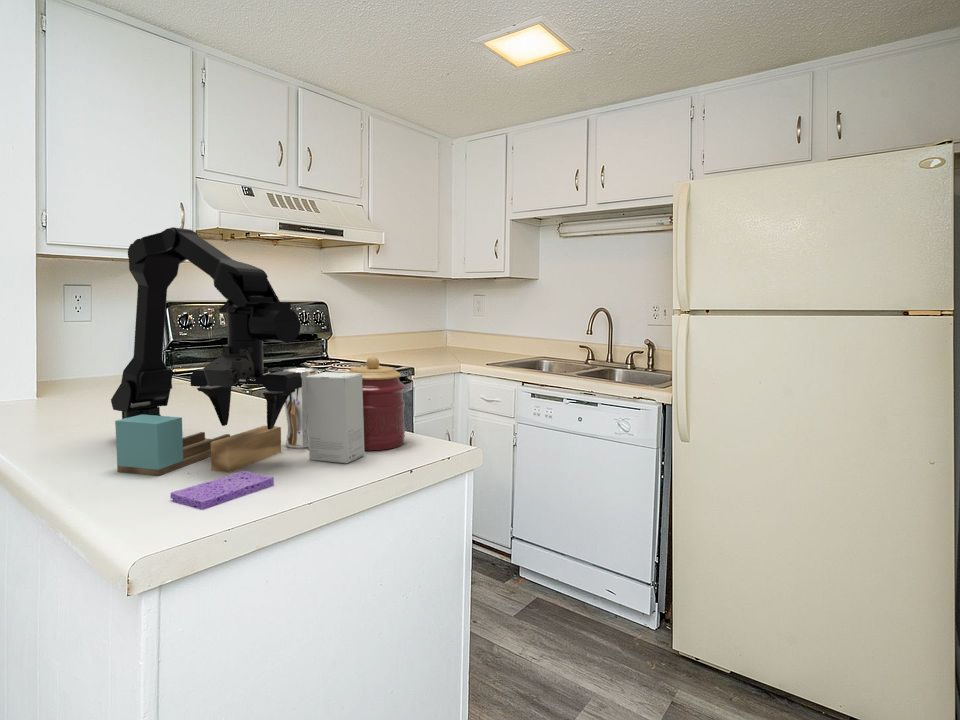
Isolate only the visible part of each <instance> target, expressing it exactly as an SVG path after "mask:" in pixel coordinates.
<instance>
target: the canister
mask: <svg viewBox="0 0 960 720" xmlns="http://www.w3.org/2000/svg"><path fill="white" fill-rule="evenodd" d="M365 365H366V366H355V367H351V369H350V370H348V371H347V372H345V373H361V374H362V389H363V420H364V451H384V450H390V449H394V448H398V447H399V446H401V445H403V443H404V441H405V437H406V435H405V432H406V431H405V404H406V402H405V399H404V397H403V396H404V395H403V394H404V393H403V391H404V390H405V388H406V385H405V384H404V383H403V382H402V381H401V380H400V377H401V376H402V374H401V373H400V372H399V371H397V370H396V369H395V368H394V367H390V366H384V365H383V366H381V365H380V360H379V358H378V357H375V356H370V357H368V358H367V359H366V362H365Z"/></svg>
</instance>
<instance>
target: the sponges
mask: <svg viewBox="0 0 960 720" xmlns="http://www.w3.org/2000/svg"><path fill="white" fill-rule="evenodd" d="M274 486H275V478H274V476H271V475H265V474H262V475H261V474H260V473H254V472H251V471H245V470H240V471H238V472H236V473H235V472H234V473H231V474H229V475H227V476H222V477H220V478H215V479H213V480H208V481H205V482H201V483H198V484H196V485H192V486H188V487H186V488H181V489H179V490H175V491H171V492H169V493H170V496H169V497H170V500H171V499H172V502H173V503H177V504H179V505H183V506H190V507H191V508H195V509H199V510H202V511H203V510H206V509H210V508H212V507H214V506H218V505H220V504H223V503H227V502H229V501H232V500H235V499H238V498H241V497H245V496H248V495H251V494H253V493H257V492H259V491H262V490H265V489H268V488H271V487H274Z"/></svg>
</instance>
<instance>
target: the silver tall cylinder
mask: <svg viewBox="0 0 960 720" xmlns="http://www.w3.org/2000/svg"><path fill="white" fill-rule="evenodd" d="M282 371H287V372H298V373H299V375H300V376H301V378H302V387H301V388H298V389H295V392H293V393H290V395H289V396H288V398H287V400H286V402H285V403H284V405H283V408H284V412H285V418H286V423H287V424H286V425H287V433H286V440H285V446H286V447H288V448H290V449H306V448H309V437H308V414H307V392H306V376H310V375H315V374H319V369H318V368H314V367H312V368H311V367H291V368H286V369H283V370H282Z"/></svg>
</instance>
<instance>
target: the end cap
mask: <svg viewBox="0 0 960 720" xmlns="http://www.w3.org/2000/svg"><path fill="white" fill-rule="evenodd" d="M114 422H115V423H114V425H115V445H116V464H117V466H126V467H136V468H146V469H156V470H159V469H162V468H165V467H168V466H170V465H173V464H176V463H179V462H181V461H183V438H184V437H183V417H179V416H167V415H166V416H165V415H161V416H156V415H143V414H142V415H138V416H133V417H129V418H125V419H122V418H121V419H117V420H115V421H114Z"/></svg>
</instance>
